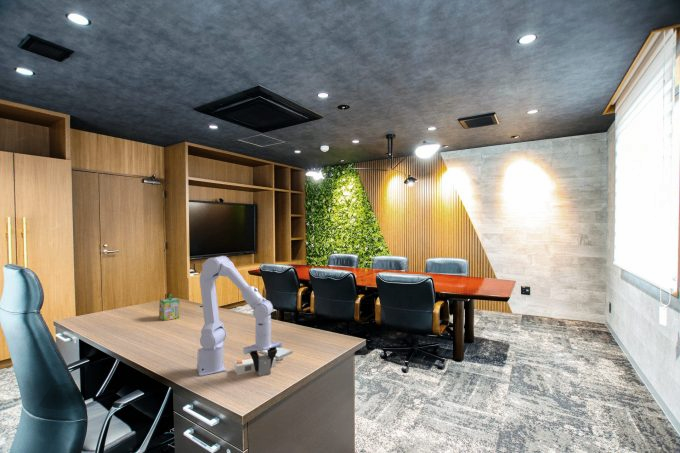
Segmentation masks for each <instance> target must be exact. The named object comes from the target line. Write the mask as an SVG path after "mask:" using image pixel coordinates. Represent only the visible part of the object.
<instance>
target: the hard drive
mask: <svg viewBox="0 0 680 453" xmlns="http://www.w3.org/2000/svg"><path fill="white" fill-rule="evenodd" d="M276 349H277V353H276V355H275V358H276V359H278V358H284V357H287V356H289V355H292V354H293V353H294V351H293V350H290V349H288V348H285V347H282V348H279V347H278V348H276ZM259 353H260V354H263V355H268V352H267V350H262V351H259Z"/></svg>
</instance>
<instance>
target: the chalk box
mask: <svg viewBox="0 0 680 453" xmlns="http://www.w3.org/2000/svg"><path fill="white" fill-rule="evenodd" d="M158 303H159V307H158V308H159V309H158V310H159V311H158V312H159V313H158V318H159V319H160V320H161V319H162V320H161V321H163V320H166V321H170V320H169V319H172V320H176V319H175V318H179V319H180V299H178V298H176V297H173V294H172V293H169V295H168V298H163V299H160V298H159V302H158Z"/></svg>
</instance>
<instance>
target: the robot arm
mask: <svg viewBox="0 0 680 453" xmlns="http://www.w3.org/2000/svg"><path fill="white" fill-rule="evenodd" d="M201 266H202V269H201V272H200V274H199V288H200V295H201V303H202V312H203V320H204V324H203V326H202V328H201V331H200V332H201V334H200V335H201V336H200V339H199V342H200V345H201V347H200V348H198V349H197V354H196V355H197V364H196V369H197V371H198V375H199V377H202V376H207V375H210V374H216V373H220V372H225V371H227V369H226V367H225V365H224V341H225V340H226V338H227V335H228V334H227V330H226V329H225V327H224V323H223V322H222V321H221V320H220V314H219V304H218V295H217V288H216V287H217V286H216V280H217V279H218V278H219V277H226V278H228V279H229V280H230V281H231V282H232V283H233V285H234V286H236V288H238V289H239V291H240V292H241V297H242V299H243V300H244V301H245V303H247V304H248V306H249V307H250V308H251V309H252V310H253V311H252V315H253V316H254V318H255V344H252V345H249V346H245V347H243V348H242V350H243V352H242V353H243V354H244V355H248V354H249V355H250V358H252V360H253V363H254V366H255V371H254V372H256V373H257V372H258V359H259V356H260V355H259V352H260V351H262V350H267V352H268V357H269V358H270V359H271V367H272V362H273V359H274V357H275V355H276V353H277V349H276V348H278V347H279V348H283V342H282V341H281V340H279V341H272V315H271V313H273V311H274V306H273V303H272V302H271V301H270V300H267V299H266V298H265V297H263V295H262V294H261V293H260V292H259V289H258V288H257V287H255V286H253V285H249V284H248V283H247V281H246V280H245V278H244V277H243V276H242V275H241V273H240V271H238V269H237V268H236V267H235V264H234V262H233V261H231V260H230V258H229V257H227V256H226V255H220V256H216V257H215V256H214V257H208V258H207V259H206V260H205V261H204V262H203V263H201ZM272 368H273V367H272Z"/></svg>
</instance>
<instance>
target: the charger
mask: <svg viewBox="0 0 680 453" xmlns="http://www.w3.org/2000/svg"><path fill="white" fill-rule="evenodd" d="M271 370H272V368H271V359H270V358H269V357H268V355H266V354H263V355H259V359H258V372H256V374H257V375H258V377H261V376H265V375H270V374H271V373H272V372H271Z"/></svg>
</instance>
